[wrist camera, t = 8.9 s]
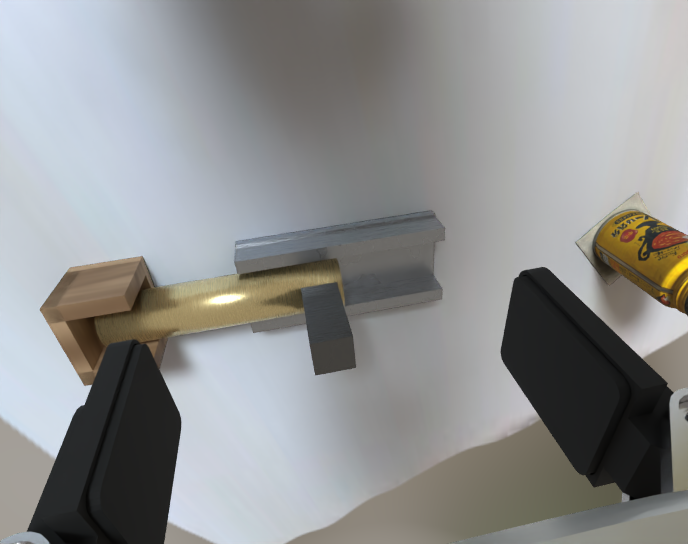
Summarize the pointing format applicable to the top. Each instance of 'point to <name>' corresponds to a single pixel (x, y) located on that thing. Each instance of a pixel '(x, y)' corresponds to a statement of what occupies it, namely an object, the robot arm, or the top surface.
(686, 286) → the condiment
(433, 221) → the channel
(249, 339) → the top surface
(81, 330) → the socket
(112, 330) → the bolt
